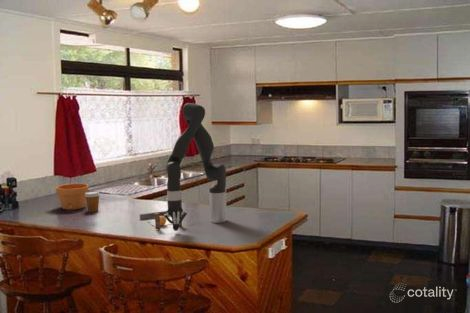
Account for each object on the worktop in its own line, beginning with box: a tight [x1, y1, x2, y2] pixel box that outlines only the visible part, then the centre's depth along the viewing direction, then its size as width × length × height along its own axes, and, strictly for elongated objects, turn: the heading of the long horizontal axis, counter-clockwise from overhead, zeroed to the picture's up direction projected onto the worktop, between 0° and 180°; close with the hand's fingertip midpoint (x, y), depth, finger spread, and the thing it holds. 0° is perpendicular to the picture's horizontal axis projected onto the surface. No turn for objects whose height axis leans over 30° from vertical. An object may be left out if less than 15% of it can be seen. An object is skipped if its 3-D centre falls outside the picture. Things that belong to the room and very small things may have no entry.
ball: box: [160, 216, 166, 227], centre depth 304 cm, size 6×6×6 cm
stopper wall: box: [139, 210, 170, 220], centre depth 325 cm, size 2×18×3 cm, turn 114°
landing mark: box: [163, 217, 172, 226], centre depth 312 cm, size 14×14×1 cm
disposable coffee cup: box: [85, 190, 100, 213], centre depth 350 cm, size 10×10×12 cm
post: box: [154, 213, 161, 230], centre depth 296 cm, size 3×3×9 cm
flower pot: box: [55, 183, 90, 211], centre depth 362 cm, size 21×21×15 cm
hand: (175, 230), depth 287 cm, fingers closed
